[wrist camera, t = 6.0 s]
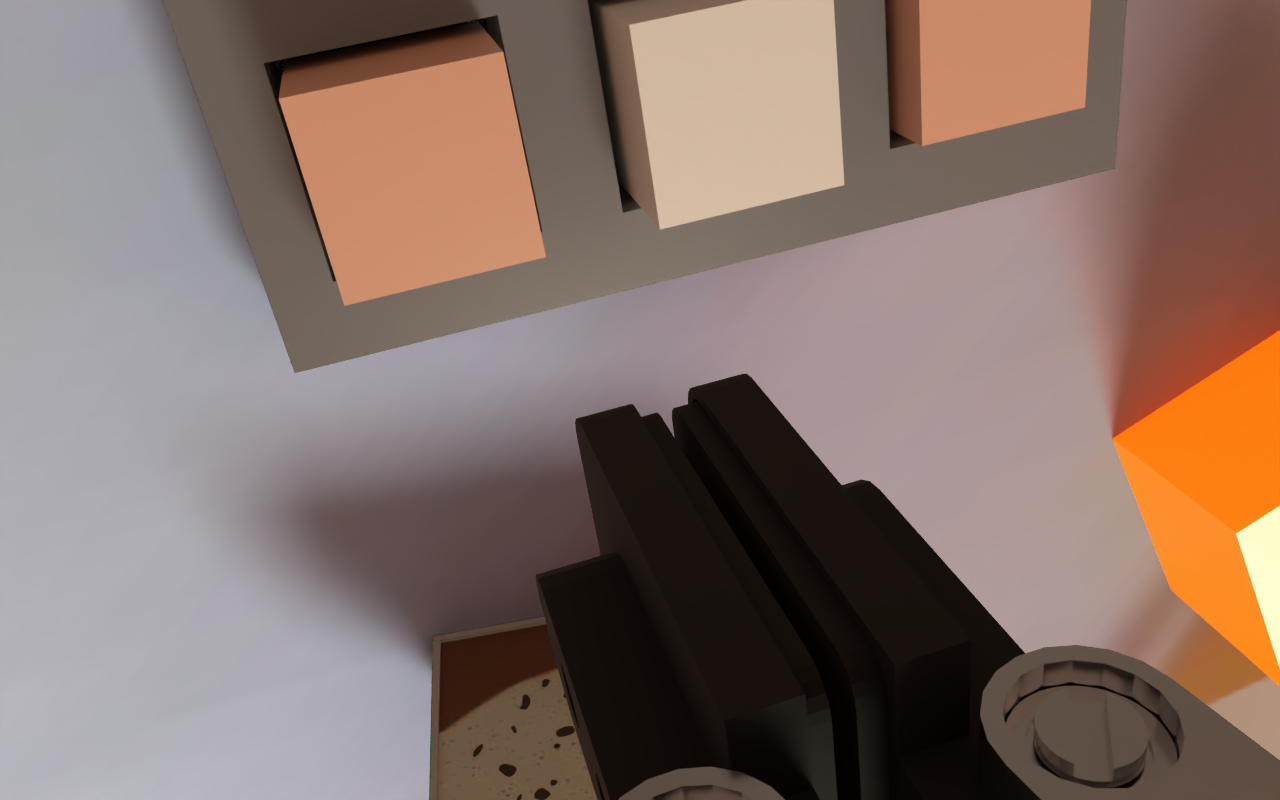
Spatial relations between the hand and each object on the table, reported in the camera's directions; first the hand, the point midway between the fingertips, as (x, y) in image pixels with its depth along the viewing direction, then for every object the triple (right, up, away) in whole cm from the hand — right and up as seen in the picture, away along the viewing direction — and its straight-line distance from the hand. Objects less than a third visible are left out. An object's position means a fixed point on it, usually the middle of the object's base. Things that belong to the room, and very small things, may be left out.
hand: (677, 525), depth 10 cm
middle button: (+1, +9, +16) cm, 19 cm away
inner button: (+7, +12, +18) cm, 23 cm away
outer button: (-6, +7, +15) cm, 18 cm away
